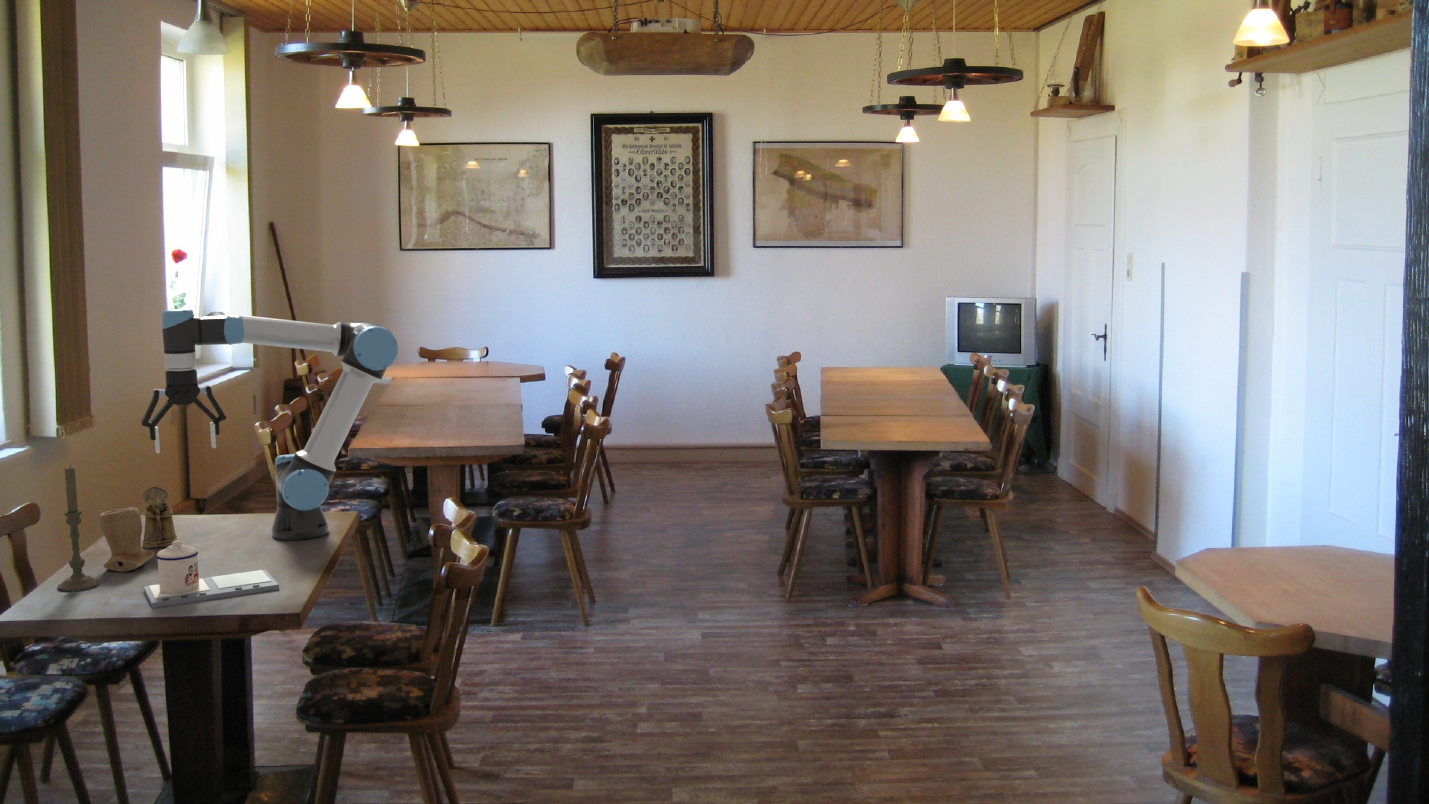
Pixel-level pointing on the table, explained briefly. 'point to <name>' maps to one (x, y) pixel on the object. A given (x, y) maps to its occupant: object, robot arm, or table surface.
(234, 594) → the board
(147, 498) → the wooden mug
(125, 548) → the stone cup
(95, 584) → the candlestick holder
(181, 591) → the teacup with lid
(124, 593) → the table surface
